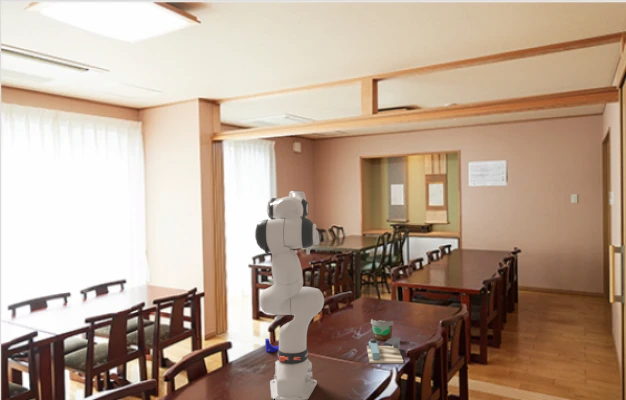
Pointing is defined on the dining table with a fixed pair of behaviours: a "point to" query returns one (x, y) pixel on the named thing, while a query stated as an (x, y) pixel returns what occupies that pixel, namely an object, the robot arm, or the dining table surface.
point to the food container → (382, 329)
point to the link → (374, 350)
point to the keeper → (393, 342)
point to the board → (386, 354)
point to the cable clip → (270, 346)
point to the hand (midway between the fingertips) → (298, 254)
